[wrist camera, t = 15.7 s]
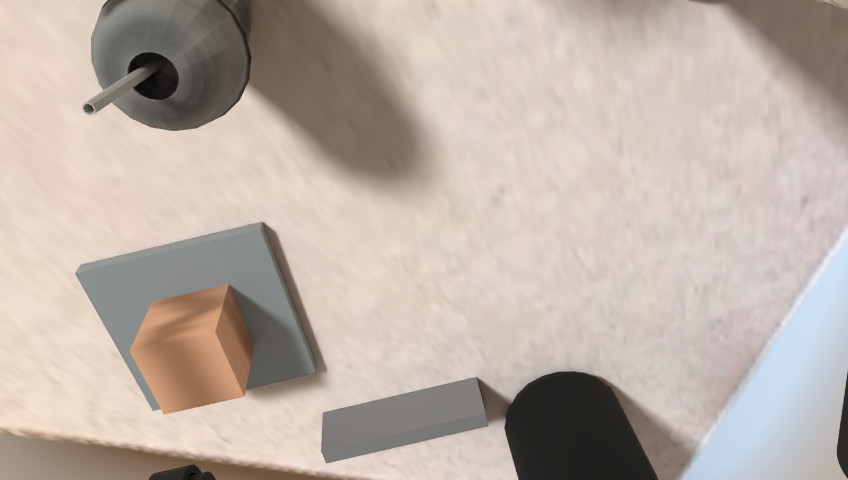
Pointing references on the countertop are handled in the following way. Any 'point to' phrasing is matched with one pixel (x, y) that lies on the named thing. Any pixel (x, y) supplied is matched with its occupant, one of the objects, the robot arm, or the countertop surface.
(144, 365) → the lettered block
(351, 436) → the grey long block
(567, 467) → the coffee jar
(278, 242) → the countertop surface
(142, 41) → the beverage cup
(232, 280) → the board
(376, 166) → the countertop surface
